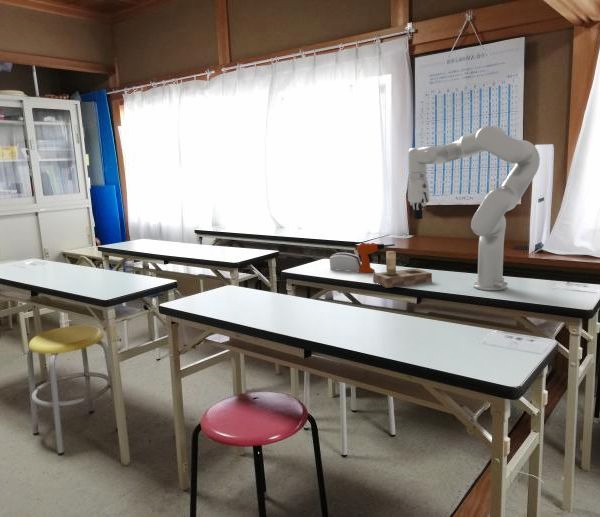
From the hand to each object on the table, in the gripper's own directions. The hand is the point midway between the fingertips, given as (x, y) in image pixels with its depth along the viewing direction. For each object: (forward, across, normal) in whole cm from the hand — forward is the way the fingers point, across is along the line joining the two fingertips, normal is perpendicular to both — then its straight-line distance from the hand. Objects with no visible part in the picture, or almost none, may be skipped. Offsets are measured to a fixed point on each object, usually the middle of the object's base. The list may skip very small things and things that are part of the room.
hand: (418, 218), depth 229 cm
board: (+27, -2, +10) cm, 29 cm away
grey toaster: (+27, +36, +18) cm, 48 cm away
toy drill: (+27, +23, +9) cm, 36 cm away
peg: (+27, -1, +15) cm, 31 cm away
